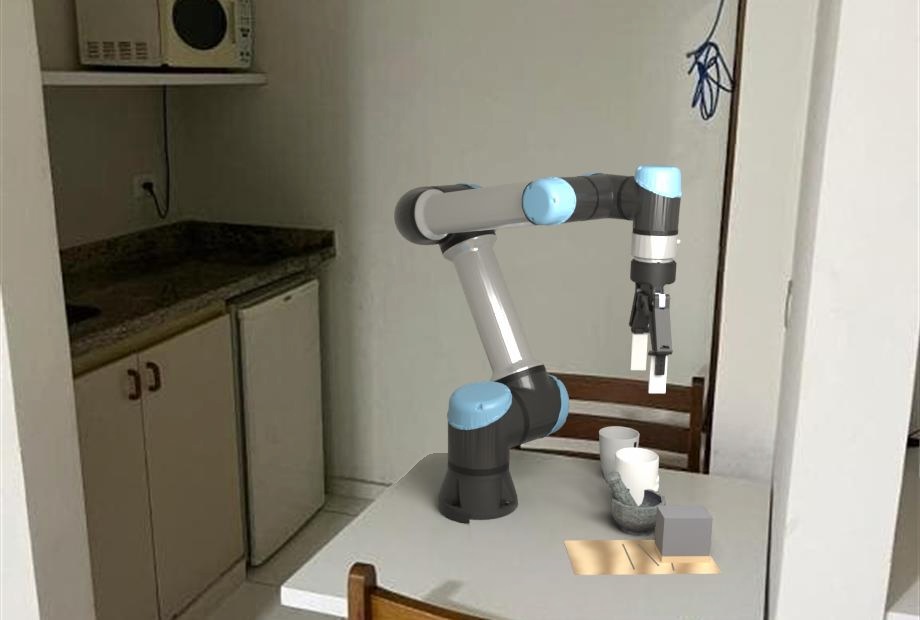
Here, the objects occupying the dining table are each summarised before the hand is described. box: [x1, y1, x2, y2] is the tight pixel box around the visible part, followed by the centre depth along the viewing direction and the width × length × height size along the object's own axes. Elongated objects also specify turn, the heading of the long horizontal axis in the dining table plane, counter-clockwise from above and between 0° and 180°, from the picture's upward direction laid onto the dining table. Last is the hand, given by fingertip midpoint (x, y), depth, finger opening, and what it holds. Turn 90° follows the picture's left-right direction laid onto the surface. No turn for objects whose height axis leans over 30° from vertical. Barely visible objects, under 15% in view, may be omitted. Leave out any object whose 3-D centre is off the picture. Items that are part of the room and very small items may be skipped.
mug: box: [614, 447, 660, 506], centre depth 173 cm, size 8×12×12 cm
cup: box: [598, 425, 640, 478], centre depth 189 cm, size 8×8×10 cm
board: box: [563, 539, 723, 576], centre depth 155 cm, size 24×12×1 cm, turn 92°
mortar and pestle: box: [604, 471, 667, 537], centre depth 164 cm, size 11×9×12 cm
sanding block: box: [654, 504, 714, 563], centre depth 154 cm, size 8×5×8 cm, turn 92°
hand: (646, 380), depth 159 cm, fingers open, 13 cm apart
